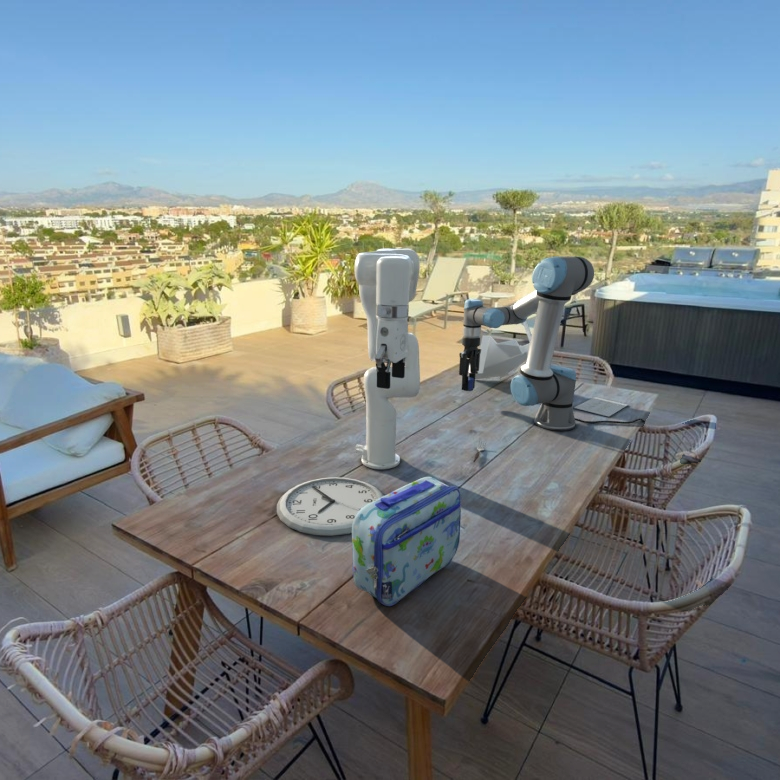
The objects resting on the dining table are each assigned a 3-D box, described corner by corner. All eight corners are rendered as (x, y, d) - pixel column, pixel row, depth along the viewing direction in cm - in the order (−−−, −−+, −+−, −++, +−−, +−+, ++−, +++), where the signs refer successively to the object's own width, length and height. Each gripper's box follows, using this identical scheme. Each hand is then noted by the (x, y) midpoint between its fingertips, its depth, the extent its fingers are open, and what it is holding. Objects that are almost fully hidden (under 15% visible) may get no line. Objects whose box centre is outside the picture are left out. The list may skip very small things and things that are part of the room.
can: (464, 387, 231) (465, 376, 230) (474, 388, 229) (475, 378, 228) (461, 390, 227) (462, 379, 226) (471, 391, 225) (472, 380, 224)
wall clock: (392, 527, 129) (268, 531, 127) (391, 533, 130) (269, 537, 127) (383, 473, 158) (282, 475, 155) (383, 478, 158) (282, 480, 156)
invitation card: (608, 416, 214) (573, 407, 224) (608, 416, 214) (573, 408, 224) (628, 404, 229) (594, 396, 238) (628, 405, 229) (594, 397, 238)
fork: (469, 463, 170) (469, 457, 169) (478, 444, 184) (479, 439, 183) (477, 464, 169) (477, 458, 168) (486, 446, 183) (486, 440, 182)
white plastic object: (488, 421, 262) (468, 398, 237) (469, 348, 284) (449, 320, 260) (560, 397, 250) (547, 371, 225) (534, 322, 272) (520, 291, 247)
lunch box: (381, 619, 101) (382, 525, 95) (345, 592, 109) (344, 503, 102) (464, 563, 119) (469, 480, 113) (428, 543, 126) (432, 464, 120)
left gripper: (394, 318, 112) (392, 394, 117) (419, 307, 127) (417, 375, 133) (362, 315, 115) (362, 390, 120) (390, 305, 130) (389, 372, 135)
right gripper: (475, 332, 230) (471, 383, 237) (452, 338, 217) (449, 391, 224) (490, 334, 225) (486, 386, 232) (467, 340, 213) (463, 395, 220)
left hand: (391, 382), depth 126 cm, fingers open, 9 cm apart
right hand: (468, 388), depth 228 cm, fingers closed on can, 4 cm apart
